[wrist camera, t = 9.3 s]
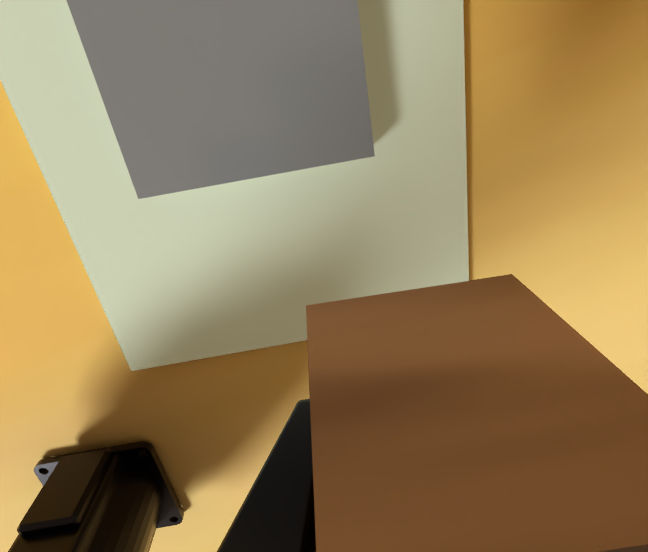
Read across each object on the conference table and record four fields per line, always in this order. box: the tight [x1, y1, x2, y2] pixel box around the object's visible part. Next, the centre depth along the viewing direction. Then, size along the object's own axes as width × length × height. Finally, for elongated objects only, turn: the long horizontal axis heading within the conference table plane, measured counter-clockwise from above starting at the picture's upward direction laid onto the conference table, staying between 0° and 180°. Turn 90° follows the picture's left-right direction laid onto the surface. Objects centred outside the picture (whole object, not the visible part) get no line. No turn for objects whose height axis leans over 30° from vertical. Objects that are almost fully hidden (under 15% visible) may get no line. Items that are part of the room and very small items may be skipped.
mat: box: [0, 0, 469, 371], centre depth 16 cm, size 22×17×1 cm
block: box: [306, 274, 648, 552], centre depth 7 cm, size 4×4×5 cm
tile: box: [66, 0, 375, 199], centre depth 14 cm, size 9×2×9 cm
